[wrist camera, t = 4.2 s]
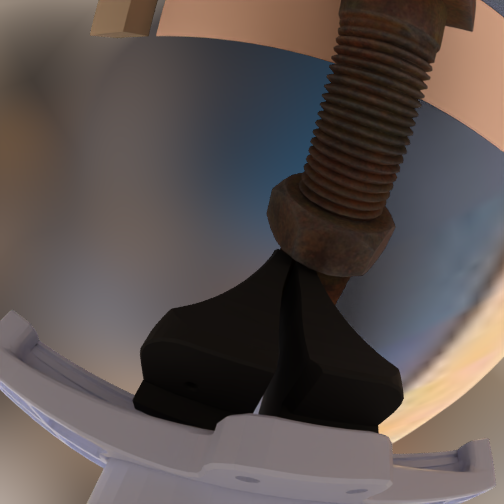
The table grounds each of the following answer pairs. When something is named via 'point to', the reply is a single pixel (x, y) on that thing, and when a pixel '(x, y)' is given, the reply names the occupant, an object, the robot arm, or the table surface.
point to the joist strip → (333, 45)
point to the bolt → (361, 136)
